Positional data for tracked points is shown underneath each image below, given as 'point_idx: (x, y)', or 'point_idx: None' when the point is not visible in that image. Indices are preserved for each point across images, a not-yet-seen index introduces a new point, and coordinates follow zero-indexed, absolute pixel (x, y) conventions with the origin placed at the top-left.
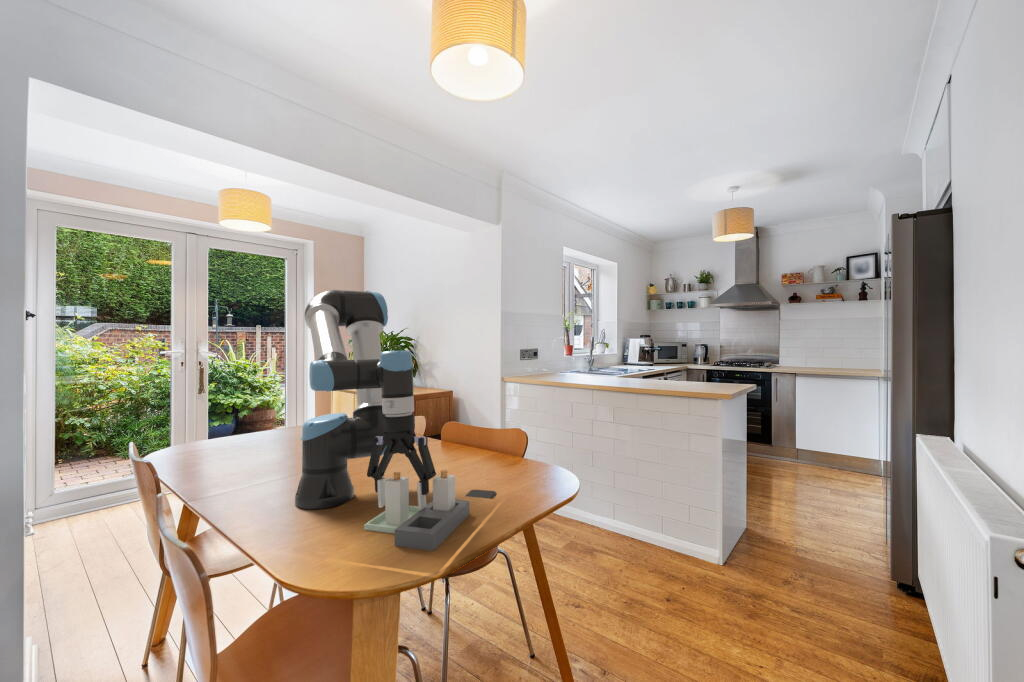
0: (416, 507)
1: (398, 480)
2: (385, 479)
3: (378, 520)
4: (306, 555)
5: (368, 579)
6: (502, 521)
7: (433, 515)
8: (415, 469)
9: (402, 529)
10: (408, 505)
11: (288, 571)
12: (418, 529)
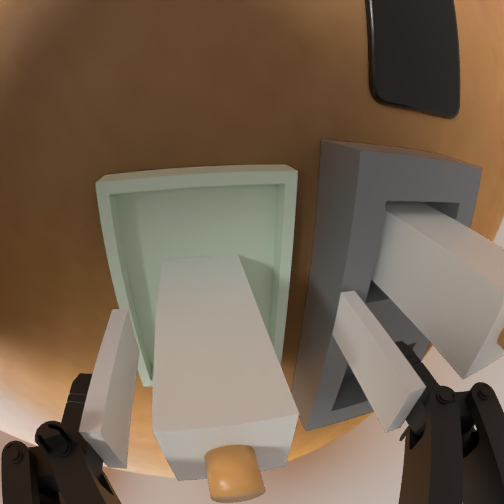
0: (239, 184)
1: (258, 462)
2: (105, 428)
3: (137, 322)
4: (128, 448)
5: (294, 449)
6: (498, 172)
7: (391, 336)
8: (406, 490)
9: (325, 423)
10: (249, 287)
11: (154, 470)
12: (364, 406)
